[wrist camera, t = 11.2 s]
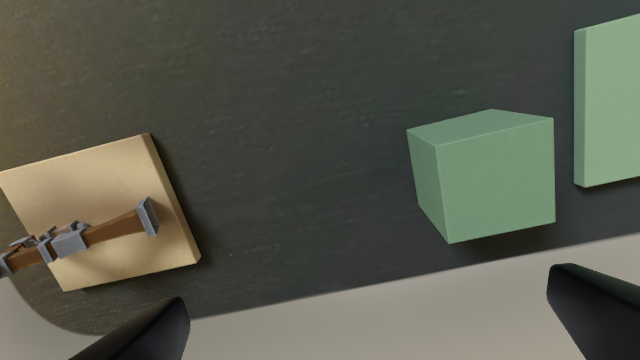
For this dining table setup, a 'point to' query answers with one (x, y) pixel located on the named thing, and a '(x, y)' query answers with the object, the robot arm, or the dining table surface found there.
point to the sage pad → (607, 102)
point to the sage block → (485, 173)
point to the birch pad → (103, 209)
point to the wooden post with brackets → (76, 238)
